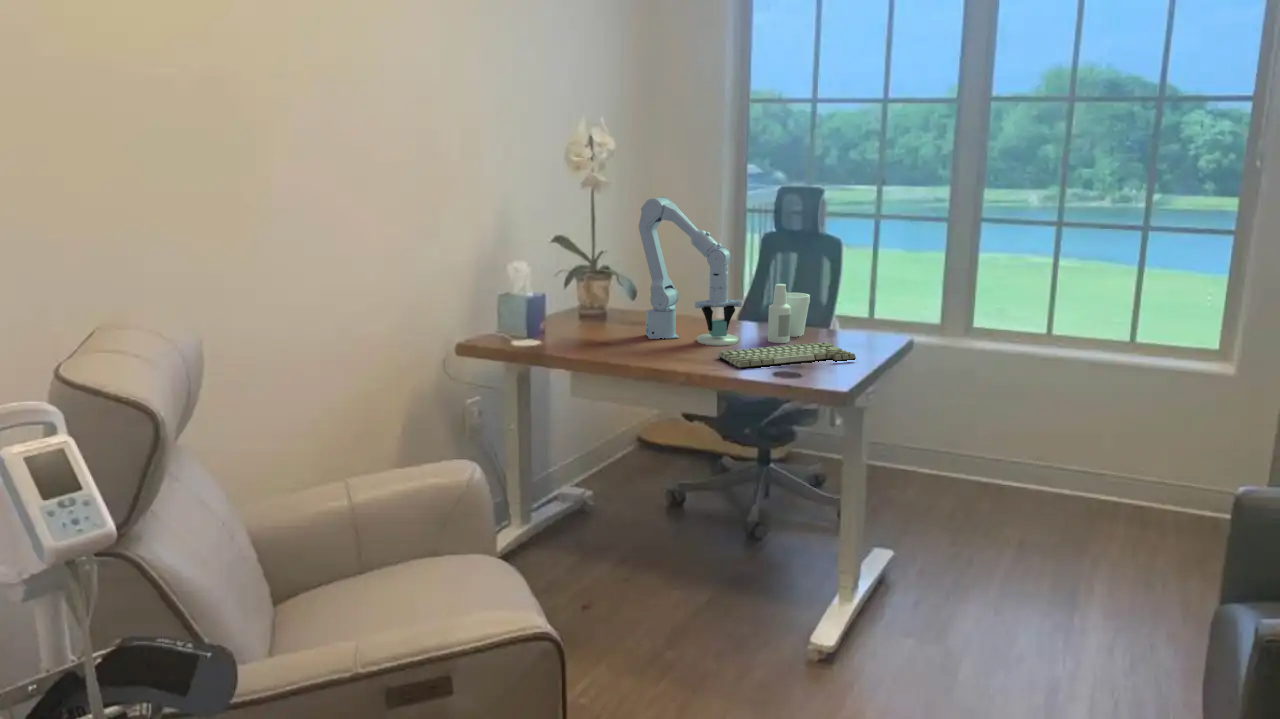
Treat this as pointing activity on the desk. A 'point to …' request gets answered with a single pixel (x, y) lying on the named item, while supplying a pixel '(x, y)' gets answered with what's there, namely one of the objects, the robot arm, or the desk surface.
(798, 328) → the foam cup
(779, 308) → the spray bottle
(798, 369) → the desk surface
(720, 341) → the dish
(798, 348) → the mechanical keyboard
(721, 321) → the teal block
